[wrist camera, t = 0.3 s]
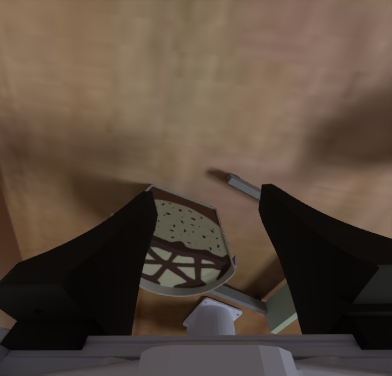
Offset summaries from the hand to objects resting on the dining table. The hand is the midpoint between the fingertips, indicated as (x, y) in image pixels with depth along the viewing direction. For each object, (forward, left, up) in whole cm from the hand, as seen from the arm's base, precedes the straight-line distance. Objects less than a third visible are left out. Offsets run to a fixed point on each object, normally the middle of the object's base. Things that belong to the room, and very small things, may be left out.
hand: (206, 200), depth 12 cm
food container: (-9, -1, -11) cm, 14 cm away
